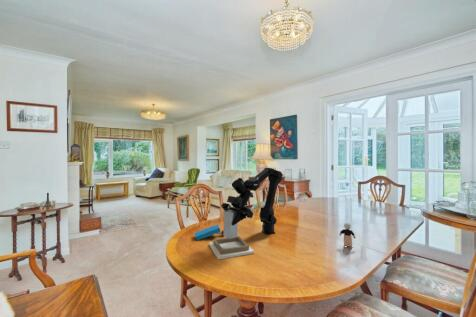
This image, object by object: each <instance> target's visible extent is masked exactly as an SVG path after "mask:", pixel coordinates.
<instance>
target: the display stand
mask: <svg viewBox="0 0 476 317" xmlns="http://www.w3.org/2000/svg"><path fill="white" fill-rule="evenodd" d="M208 245H209V247H210V249H211V250H212V252H213V253H214V255H215V256H216V258H217V260H222V259H223V260H225V259H227V258H229V259H230V258H234V257H241V256H246V255H252V254H255V250H254V249H253V248H252V247H250V245H249V244H247V243H246V241H245V240H244V239H242V238H241V237H240V236H239V235H237V237H235V238H232V239H229V238H226V237H223V238H216V239H215V238H214V239H213V241H210V242H209V243H208Z"/></svg>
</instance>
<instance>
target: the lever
mask: <svg viewBox="0 0 476 317" xmlns="http://www.w3.org/2000/svg"><path fill="white" fill-rule="evenodd" d="M217 234H219V235H221V236H223V237H224V229H222V230H221V228H220V226H219V225H218V224H214V225H211V226H209V227H207V228H204V229H201V230H198V231H196V232H194V236H195V239H196V241H199V240H202V239H205V238H208V237H211V236H214V235H217Z"/></svg>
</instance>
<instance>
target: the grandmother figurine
mask: <svg viewBox="0 0 476 317" xmlns="http://www.w3.org/2000/svg"><path fill="white" fill-rule="evenodd" d="M351 226H352V225H351V223H350V222H345V223H344V224H343V227H344V229H342V230H340V232H339V234H338V235H339V236H342V235H343V247H344V246H348V248H349V247H352V246H353V239H356V238H357V237H356V235H355V233H354V231H353V230H351ZM352 237H353V238H352Z"/></svg>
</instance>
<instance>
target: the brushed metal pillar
mask: <svg viewBox="0 0 476 317" xmlns="http://www.w3.org/2000/svg"><path fill="white" fill-rule="evenodd" d="M236 215H237V211H235V210H231V209H230V210H227V211H225V210H223V230H224V236H223V238H229V239H232V238H235V237H237V236H238V223H237V224H235V225H234V226H233V225H232V223H233V221H234V219H235V217H236Z"/></svg>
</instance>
